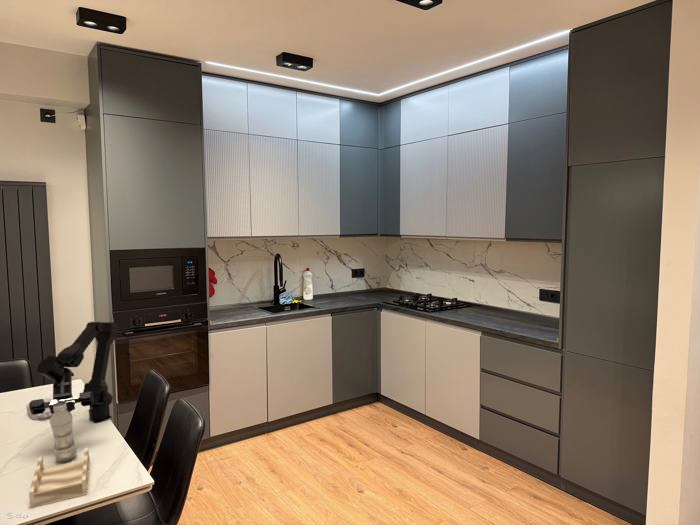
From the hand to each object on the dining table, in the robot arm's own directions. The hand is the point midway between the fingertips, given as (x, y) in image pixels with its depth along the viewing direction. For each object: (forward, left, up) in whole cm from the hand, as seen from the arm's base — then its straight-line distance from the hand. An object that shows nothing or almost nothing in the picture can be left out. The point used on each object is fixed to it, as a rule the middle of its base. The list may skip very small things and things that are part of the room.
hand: (62, 426), depth 168 cm
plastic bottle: (0, +2, -11) cm, 11 cm away
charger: (-9, -46, -11) cm, 48 cm away
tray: (+7, +16, -11) cm, 21 cm away
